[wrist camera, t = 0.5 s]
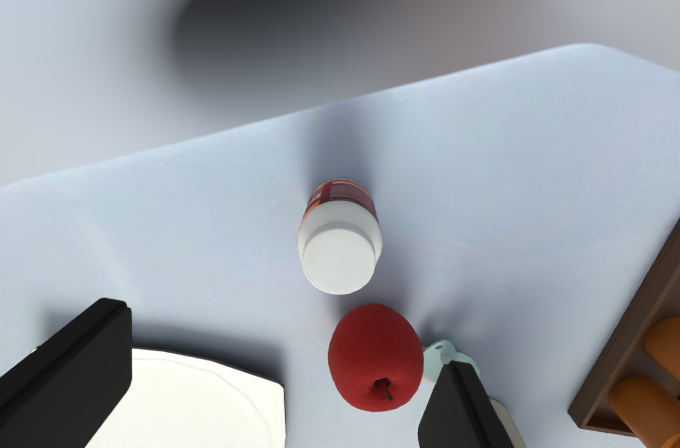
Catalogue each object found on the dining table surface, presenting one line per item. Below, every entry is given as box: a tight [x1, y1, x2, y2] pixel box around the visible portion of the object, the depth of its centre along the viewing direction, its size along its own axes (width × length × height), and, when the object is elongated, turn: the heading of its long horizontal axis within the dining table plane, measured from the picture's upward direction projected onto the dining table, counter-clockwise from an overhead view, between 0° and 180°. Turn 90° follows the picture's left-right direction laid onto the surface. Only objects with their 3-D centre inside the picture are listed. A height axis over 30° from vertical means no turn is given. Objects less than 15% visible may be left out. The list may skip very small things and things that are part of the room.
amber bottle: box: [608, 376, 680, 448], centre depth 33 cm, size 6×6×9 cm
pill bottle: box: [297, 178, 382, 294], centre depth 26 cm, size 6×6×11 cm
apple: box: [328, 304, 424, 412], centre depth 31 cm, size 9×9×10 cm
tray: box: [568, 220, 680, 438], centre depth 34 cm, size 25×11×2 cm, turn 169°
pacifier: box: [422, 340, 480, 385], centre depth 34 cm, size 7×6×6 cm
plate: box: [31, 346, 286, 448], centre depth 40 cm, size 29×29×3 cm
